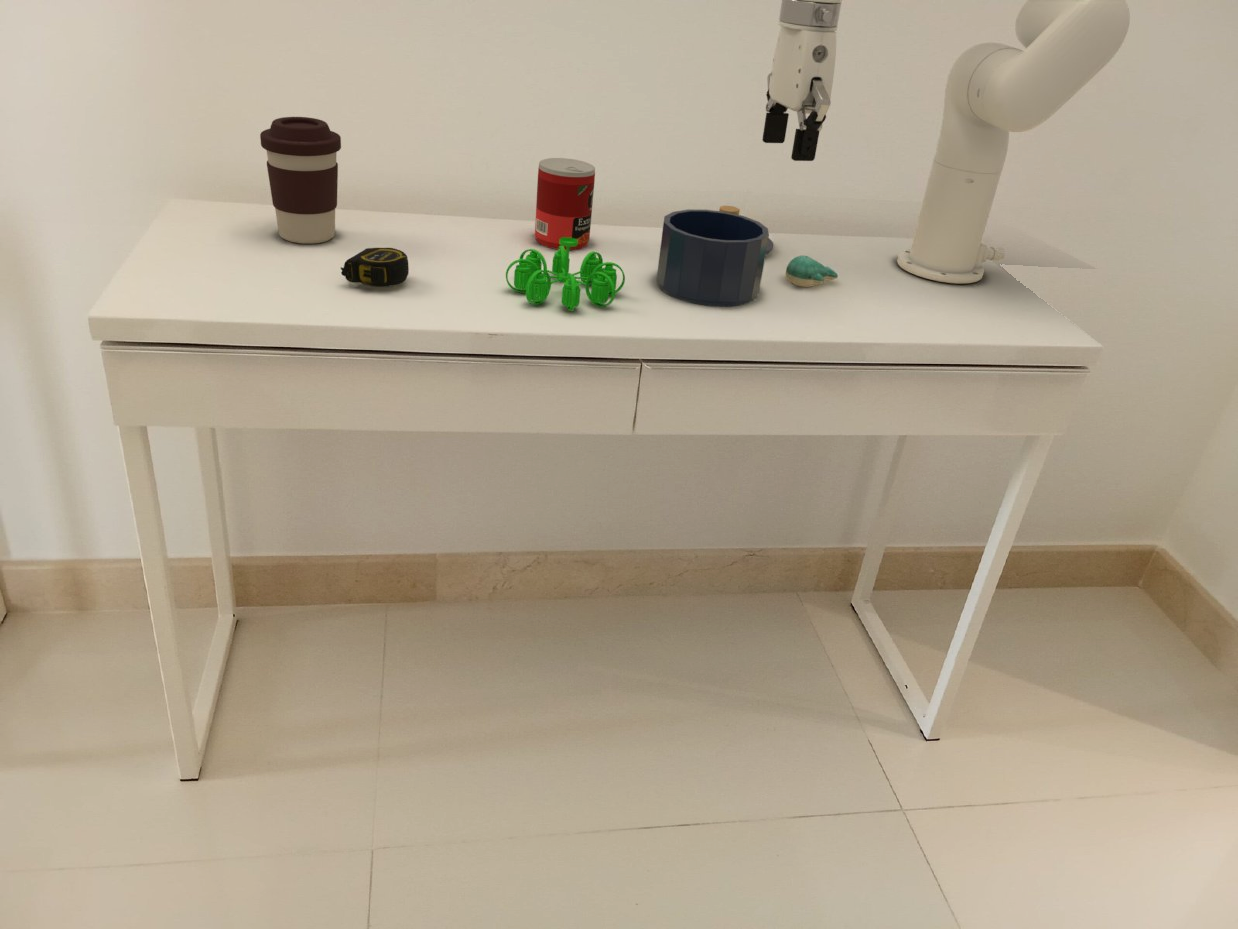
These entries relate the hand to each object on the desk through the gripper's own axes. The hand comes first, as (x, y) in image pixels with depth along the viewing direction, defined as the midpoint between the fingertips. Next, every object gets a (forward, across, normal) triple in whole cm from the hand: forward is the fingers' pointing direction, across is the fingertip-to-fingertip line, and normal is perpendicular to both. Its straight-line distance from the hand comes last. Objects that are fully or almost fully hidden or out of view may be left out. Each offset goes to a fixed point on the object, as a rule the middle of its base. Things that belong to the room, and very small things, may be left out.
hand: (787, 151), depth 136 cm
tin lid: (+15, +8, +4) cm, 18 cm away
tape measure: (+15, -7, +56) cm, 59 cm away
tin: (+16, -10, +13) cm, 23 cm away
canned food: (+16, +9, +29) cm, 34 cm away
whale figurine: (+16, -8, -3) cm, 18 cm away
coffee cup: (+15, +11, +64) cm, 67 cm away
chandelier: (+16, -11, +33) cm, 38 cm away
